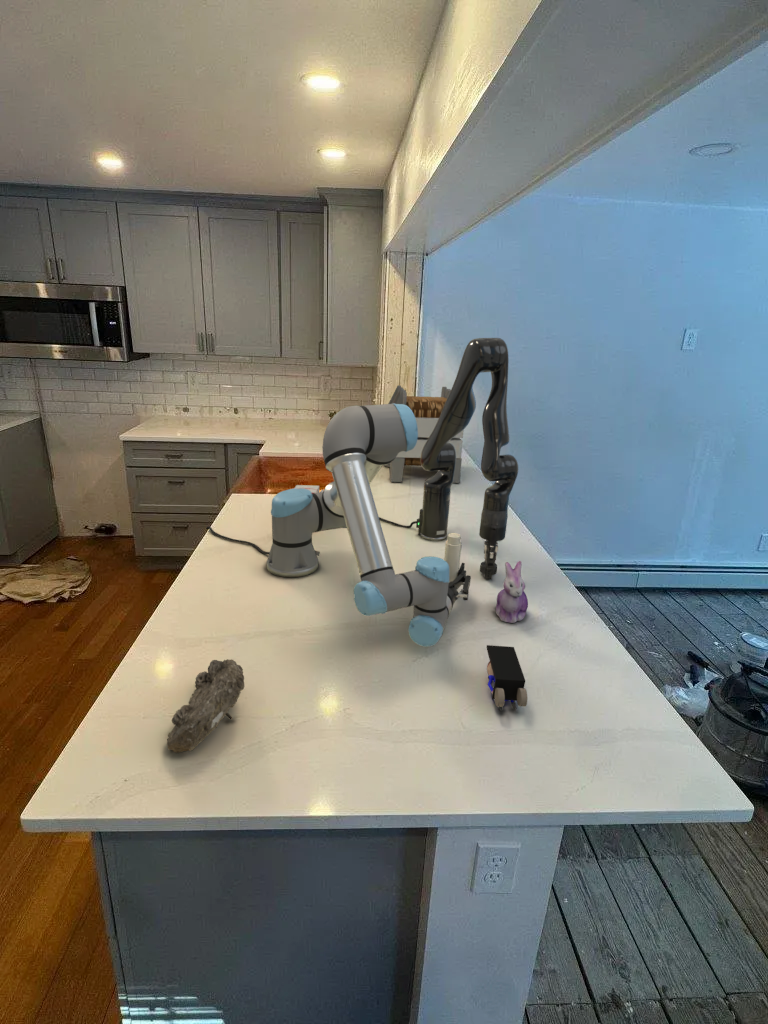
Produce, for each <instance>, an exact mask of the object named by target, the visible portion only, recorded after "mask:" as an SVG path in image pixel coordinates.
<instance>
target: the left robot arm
mask: <svg viewBox="0 0 768 1024" xmlns="http://www.w3.org/2000/svg"><path fill="white" fill-rule="evenodd" d="M417 438H418V428H417V422H416V418H415V416H414V414H413V412H412V410H411V409H410V408H409V407H408V406H406V405H404V404H395V403H393V404H388V403H386V404H384V403H383V404H369V405H368V404H367V405H349V406H346V407H343V408H342V409H340V410H339V411H338V412H336V413H335V414H334V416H333V417H332V418H331V419H330V420H329V422H328V423H327V426H326V428H325V431H324V435H323V439H322V446H321V447H322V458H323V462H324V466H325V469H326V470H327V471H329V473H331V474H332V479H333V481H331V482H329V483H328V484H327V485H326V486H325V488H324V489H323V490H324V491H323V492H321V491H319V493H311V491H310V490H308V489H303V488H300V489H298V488H295V487H294V488H295V489H294V488H289V489H285V490H282V491H280V492H277V494H275V495H274V496H273V498H272V499H271V509H270V515H271V539H272V544H271V546H270V550H269V551H264V550H263V549H262V548H260V547H259V546H258V545H257V544H255V543H253V542H252V541H251V542H250V541H247V540H242V539H236V538H231V537H228V536H224V535H222V534H219V533H218V532H216V531H214V530H213V528H212V526H210V525H209V526H207V527H206V528H205V529H206V530H210V532H211V533H212V534H213V535H215V536H217V537H219V538H222V539H224V540H228V541H231V542H236V543H240V544H246V545H250V546H252V547H254V548H256V549H257V550H258V551H259V552H260V553H261V554H264V555H268V556H267V559H266V569H267V571H268V572H269V573H270V574H272V575H274V576H277V577H283V578H298V577H305V576H308V575H311V574H312V573H313V574H314V572H316V571H317V570H318V568H319V558H318V557H321V552H320V551H319V550H315V547H314V544H313V534H314V533H318V532H319V533H320V532H324V531H325V532H326V531H330V530H339V529H347V530H346V531H347V533H348V536H349V537H348V538H349V541H350V544H351V547H352V551H353V555H354V557H355V558H354V559H355V562H356V566H357V569H358V574H359V578H360V581H359V582H357V583H356V584H355V585H354V587H353V597H354V598H353V600H354V601H353V602H354V604H355V607H356V609H357V611H358V612H359V613H360V614H361V615H363V616H365V617H370V616H376V615H381V614H382V615H384V614H386V613H389V612H393V611H398V610H400V609H405V608H409V607H413V611H412V618H411V619H410V620H409V625H408V635H409V637H410V639H411V641H412V642H413V643H415V644H417V646H421V647H424V648H428V647H432V646H435V645H436V644H437V643H438V642H439V640H440V639H441V637H442V636H443V634H444V630H445V627H446V625H447V622H448V619H449V617H450V615H451V612H452V609H453V606H454V604H455V601H457V600H458V599H459V598H461V599H462V600H463V601H468V600H469V595H470V594H469V593H470V591H469V590H470V586H471V579H472V576H471V575H470V574H469V575H468V574H467V570H465V564H466V563H465V562H461V565H459V571H458V577H457V578H455V579H454V580H453V581H451V582H450V583H449V565H448V563H447V562H446V561H444V558H441V557H438V556H422V557H421V558H419V559H418V560H417V561H416V565H415V566H414V567H415V569H414V570H411V571H405V572H401V573H397V574H396V572H395V570H394V566H393V563H392V559H391V556H390V552H389V549H388V544H387V541H386V538H385V535H384V531H383V527H382V524H381V520H379V517H380V516H379V514H378V510H377V506H376V502H375V498H374V496H373V492H372V488H371V483H372V482H373V481H374V479H375V477H376V476H377V475H378V473H379V471H380V470H381V469H382V468H383V466H384V465H387V464H389V463H391V462H392V461H393V460H394V459H395V457H396V456H397V455H398V453H399V452H401V451H405V452H407V451H409V450H412V449H413V448H414V447H415V445H416V443H417ZM461 586H462V588H461V589H460V587H461ZM458 589H460V591H458Z"/></svg>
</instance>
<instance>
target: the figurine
mask: <svg viewBox="0 0 768 1024" xmlns="http://www.w3.org/2000/svg"><path fill="white" fill-rule="evenodd" d="M522 566H523V563H522V561H521V560H518V561H517V562H516V564H515V565H514V568H513V567H512V566H511V564H510V562H508V561H506V562H505V563H504V569H505V570H504V571H505V579H504V580H503V582H502V583H503V585H502V586H503V587H502V589H501V590H500V591H499V592H498V594H497V596H496V606H495V613H496V614H495V615H497V616H498V617H499V620H501V621H502V622H505V623H511V624H512V623H514V624H515V623H517V622H520V621H523V619H524V618H525V617H526V614H527V610H528V607H529V600H528V597H527V594H526V592H525V588H526V584H525V580H524V578H523V576H522Z"/></svg>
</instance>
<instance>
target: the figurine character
mask: <svg viewBox="0 0 768 1024" xmlns="http://www.w3.org/2000/svg"><path fill="white" fill-rule="evenodd" d="M485 648H486V651H487V655H488V659H489V661H488V663H487V665H486V672H487V674H488V677H487V678H488V681H487V686H488V689H489V690H490V693H491V699H492V700H494V704H495V705H494V706H495V707H497V708H498V709H499V710H500V711H501V712H502V711H503V707H504V706H505V703H506V702H510V704H511V708H512V711H514V712H516V711H517V710H518V709H517V708H518V707H523V708H524V707H527V705H528V692H527V688H525V684H526V678H525V675H524V673H523V669H522V667H521V664H520V660H519V658H518V654H517V652H516V649H515V646H508V645H507V646H506V645H493V644H491V645H490V644H486V647H485ZM492 684H493V685H492ZM516 703H517V704H516ZM517 706H518V707H517Z"/></svg>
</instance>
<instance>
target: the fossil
mask: <svg viewBox="0 0 768 1024" xmlns="http://www.w3.org/2000/svg"><path fill="white" fill-rule="evenodd" d="M243 670H244V669H243V667H242V665H240V664H237V662H236V661H235V660H234V659H232V658H231V659H227V658H226V659H224V660H223V661H222V660H217V659H212V660H211V661H210V663H209V665H208V666H207V671H201V672H199V673H198V674H197V675H196V676H195V680H194V684H195V685H194V687H195V689H194V690H193V693H192V694H191V697H190V698H189V700H188V704H184V705H182V706H181V707H180V709H177V710H176V711H175V713H174V715H173V716H172V718H171V723H172V724H173V727H172V730H171V731H170V732H168V734H167V738H166V741H167V742H166V745H167V749H168V750H169V751H173V752H174V753H176V754H178V753H182V752H188V751H189V752H192V751H193V750H195V748H196V747H197V746H199V744H200V743H201V742H203V741H204V740H205V739H206V738H207V737H208V736H209V735H210V734H211V733H212V732H214V730H215V729H217V727H218V726H219V724H220V722H221V721H222V720H223V719H224V718H225V716H226V717H227V719H229V720H233V717H232V715H230V714H229V710H230V709H231V708H234V706H235V704H236V703H237V702H238V699H239V697H240V695H241V693H242V691H243V690H245V689H244V688H245V675H244V671H243Z"/></svg>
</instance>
